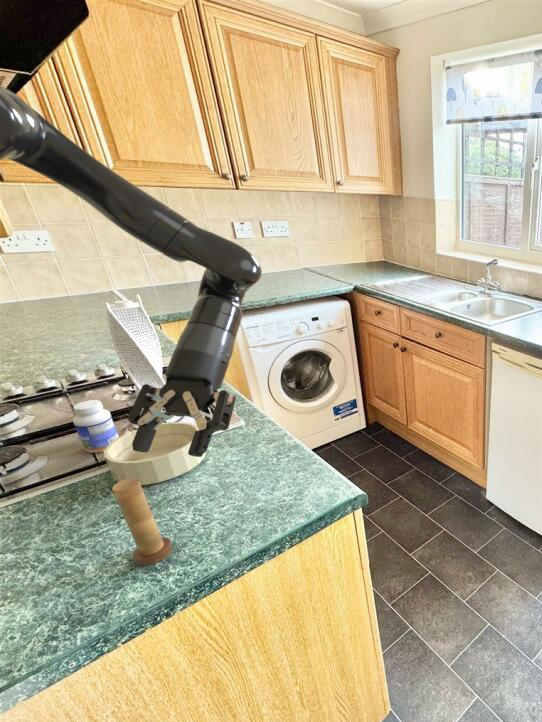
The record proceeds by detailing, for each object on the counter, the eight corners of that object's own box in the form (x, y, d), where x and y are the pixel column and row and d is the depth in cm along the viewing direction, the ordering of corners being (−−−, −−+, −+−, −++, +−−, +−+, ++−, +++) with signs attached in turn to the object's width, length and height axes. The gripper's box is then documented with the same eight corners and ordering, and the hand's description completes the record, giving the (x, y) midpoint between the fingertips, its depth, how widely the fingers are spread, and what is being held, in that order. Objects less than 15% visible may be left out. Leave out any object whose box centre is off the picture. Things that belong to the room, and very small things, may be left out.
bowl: (93, 489, 74) (82, 464, 72) (146, 445, 87) (138, 422, 85) (181, 486, 76) (172, 461, 74) (220, 443, 89) (214, 421, 87)
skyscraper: (188, 404, 103) (154, 291, 91) (165, 419, 96) (125, 299, 84) (156, 402, 103) (118, 289, 91) (130, 417, 96) (85, 297, 84)
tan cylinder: (127, 567, 60) (95, 495, 55) (147, 543, 64) (119, 475, 59) (161, 565, 61) (132, 494, 55) (179, 542, 65) (153, 474, 59)
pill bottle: (82, 447, 85) (63, 405, 81) (116, 436, 89) (99, 395, 85) (90, 456, 82) (71, 413, 78) (125, 445, 87) (108, 403, 82)
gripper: (141, 343, 66) (99, 445, 60) (230, 350, 65) (195, 452, 60) (177, 362, 73) (142, 454, 67) (257, 368, 72) (228, 461, 67)
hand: (167, 453), depth 64 cm, fingers open, 8 cm apart
